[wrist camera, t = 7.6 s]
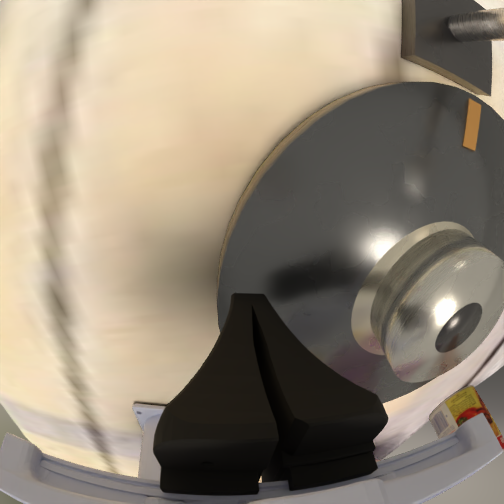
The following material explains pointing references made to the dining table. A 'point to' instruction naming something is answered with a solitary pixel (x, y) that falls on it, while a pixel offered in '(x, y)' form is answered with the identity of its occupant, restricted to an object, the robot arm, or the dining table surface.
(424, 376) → the cover
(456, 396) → the canned food
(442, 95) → the turntable
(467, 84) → the chrome shaft on stand
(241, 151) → the dining table surface
